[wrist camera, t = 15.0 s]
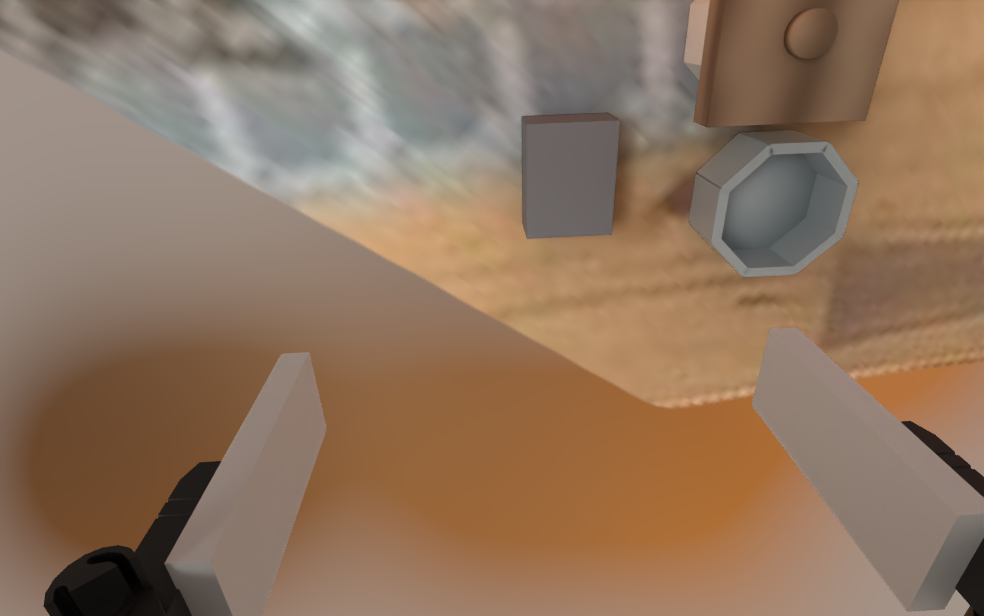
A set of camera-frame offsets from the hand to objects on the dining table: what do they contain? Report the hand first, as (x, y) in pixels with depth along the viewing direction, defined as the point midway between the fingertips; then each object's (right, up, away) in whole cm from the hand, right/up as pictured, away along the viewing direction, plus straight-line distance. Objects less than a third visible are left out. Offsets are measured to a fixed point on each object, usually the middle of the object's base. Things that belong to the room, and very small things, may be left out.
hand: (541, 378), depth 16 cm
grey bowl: (+22, +12, +32) cm, 40 cm away
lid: (+18, +21, +21) cm, 35 cm away
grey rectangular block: (+5, +14, +30) cm, 33 cm away
